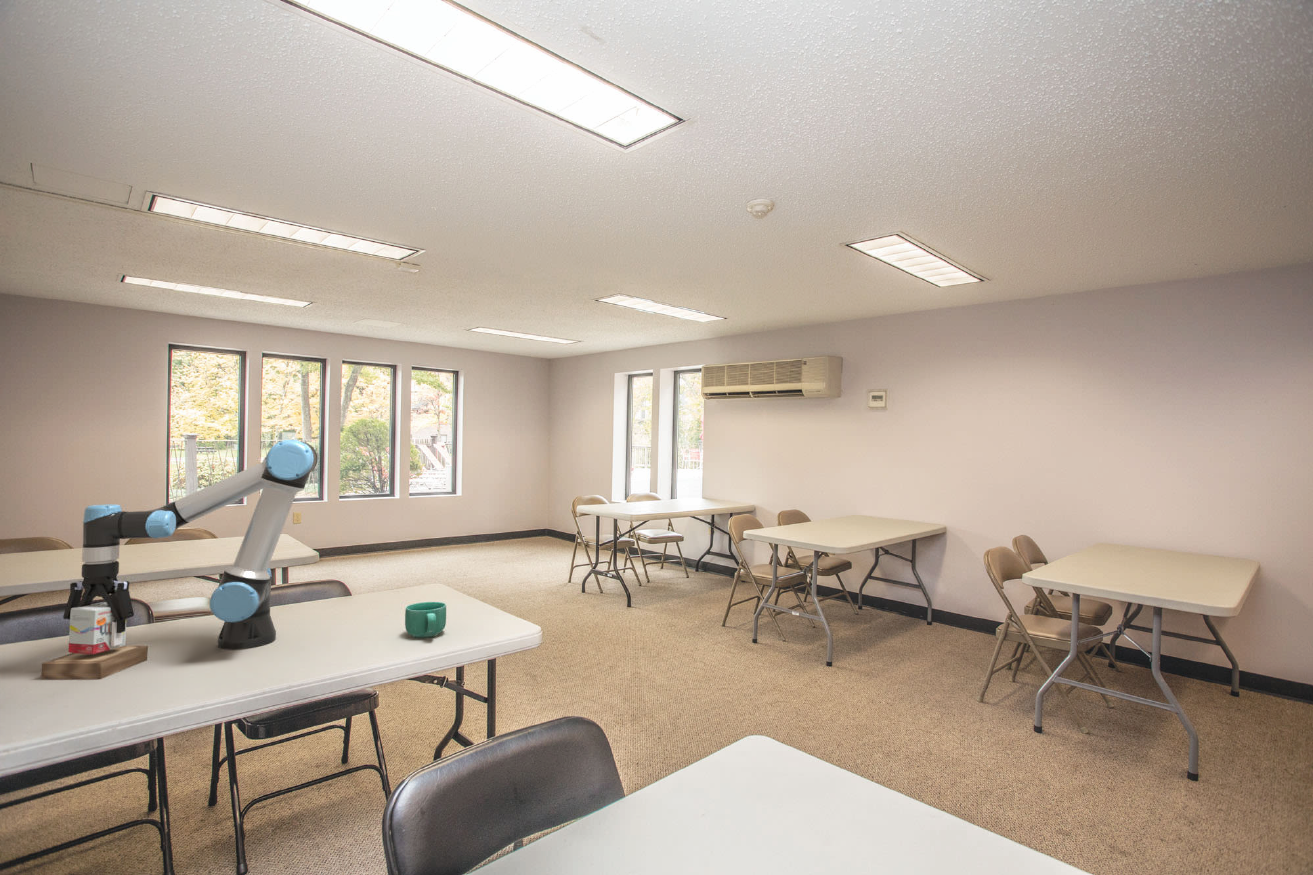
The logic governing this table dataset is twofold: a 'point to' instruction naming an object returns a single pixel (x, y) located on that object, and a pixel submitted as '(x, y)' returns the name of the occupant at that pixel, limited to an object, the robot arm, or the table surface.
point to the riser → (94, 663)
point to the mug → (425, 619)
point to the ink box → (91, 629)
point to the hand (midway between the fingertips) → (97, 644)
